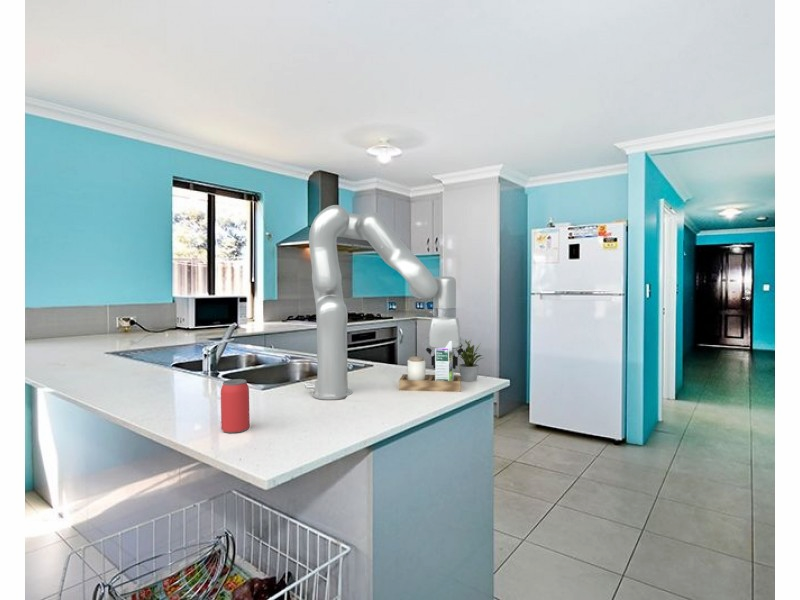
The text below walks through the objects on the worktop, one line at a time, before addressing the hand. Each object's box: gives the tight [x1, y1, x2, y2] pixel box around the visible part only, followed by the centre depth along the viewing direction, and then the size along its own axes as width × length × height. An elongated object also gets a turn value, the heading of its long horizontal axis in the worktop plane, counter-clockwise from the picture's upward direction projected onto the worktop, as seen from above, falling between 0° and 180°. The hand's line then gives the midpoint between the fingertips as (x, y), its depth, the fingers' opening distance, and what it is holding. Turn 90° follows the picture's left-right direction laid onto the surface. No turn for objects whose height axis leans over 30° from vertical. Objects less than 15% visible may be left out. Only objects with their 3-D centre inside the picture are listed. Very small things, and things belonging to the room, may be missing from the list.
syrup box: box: [434, 341, 455, 381], centre depth 157 cm, size 6×6×14 cm
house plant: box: [457, 339, 484, 383], centre depth 169 cm, size 14×14×16 cm
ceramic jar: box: [407, 355, 426, 380], centre depth 158 cm, size 6×6×10 cm
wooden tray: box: [398, 373, 462, 393], centre depth 158 cm, size 20×10×4 cm, turn 82°
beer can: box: [220, 378, 251, 434], centre depth 116 cm, size 7×7×12 cm
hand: (444, 367), depth 157 cm, fingers closed on syrup box, 5 cm apart
